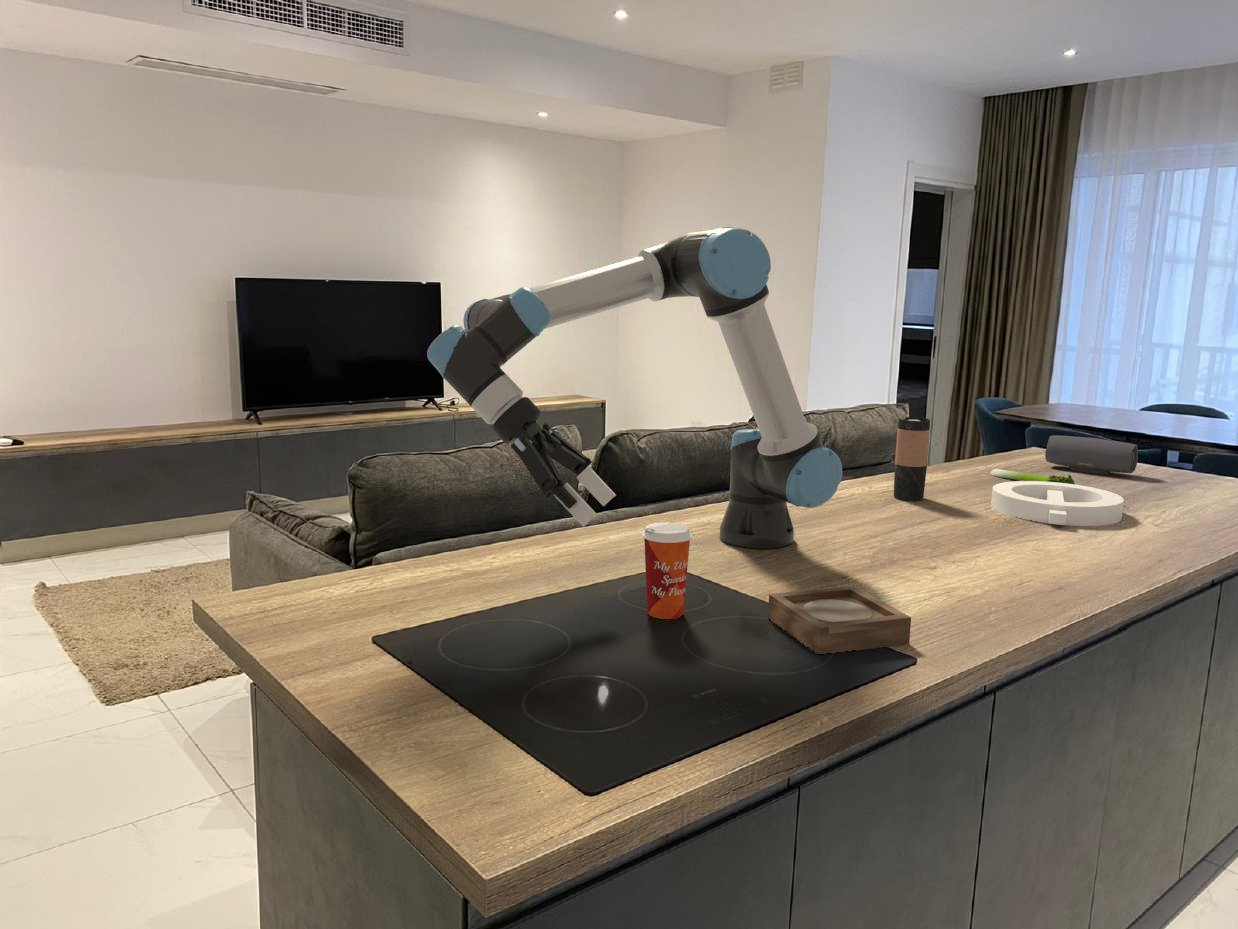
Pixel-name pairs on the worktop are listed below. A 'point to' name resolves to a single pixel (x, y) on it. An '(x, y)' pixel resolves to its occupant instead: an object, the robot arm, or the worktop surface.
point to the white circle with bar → (1057, 503)
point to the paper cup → (666, 568)
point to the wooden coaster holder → (839, 619)
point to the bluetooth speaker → (1092, 454)
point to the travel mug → (911, 458)
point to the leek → (1030, 476)
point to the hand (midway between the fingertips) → (600, 510)
